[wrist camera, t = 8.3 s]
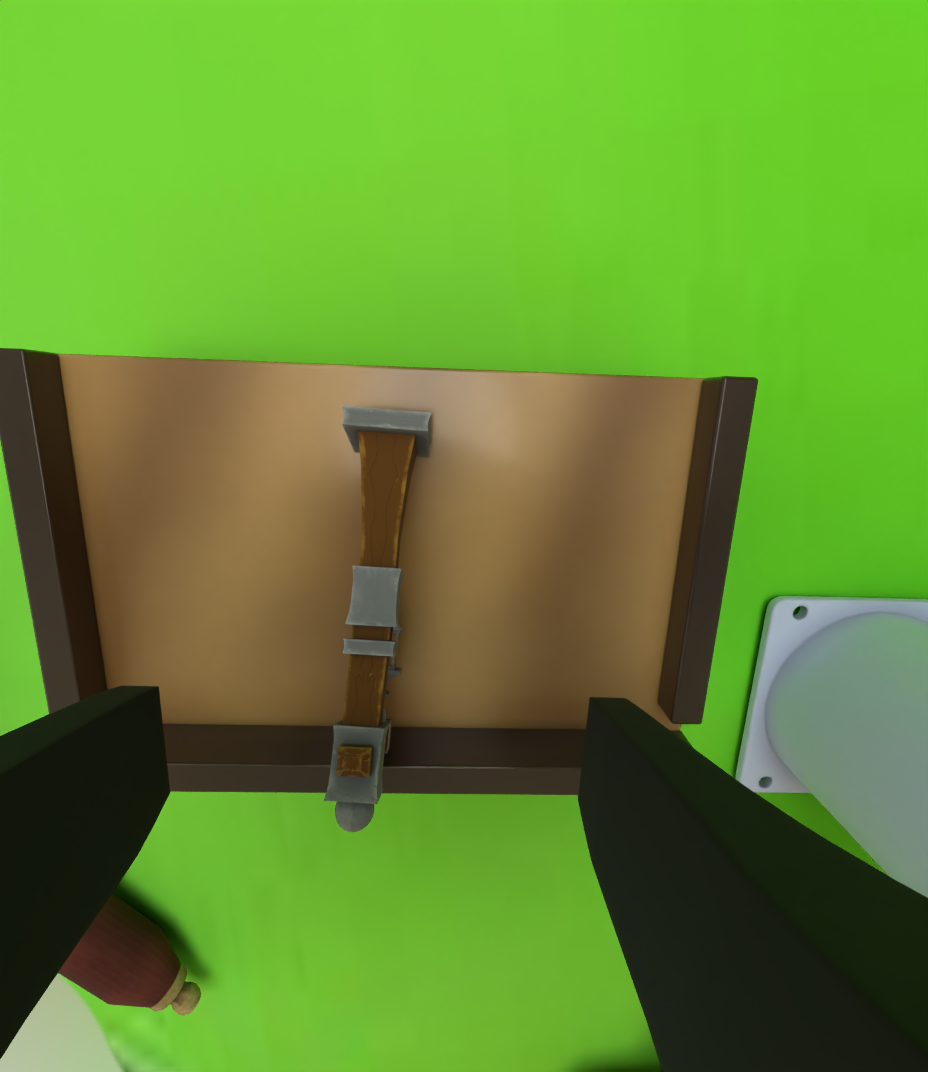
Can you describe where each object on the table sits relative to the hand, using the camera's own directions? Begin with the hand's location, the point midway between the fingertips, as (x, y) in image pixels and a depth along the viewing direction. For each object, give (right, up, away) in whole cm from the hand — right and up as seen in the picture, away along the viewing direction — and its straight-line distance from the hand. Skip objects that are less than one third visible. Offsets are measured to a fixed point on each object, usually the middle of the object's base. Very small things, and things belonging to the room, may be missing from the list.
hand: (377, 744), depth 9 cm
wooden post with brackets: (0, +3, +4) cm, 5 cm away
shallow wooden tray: (-1, +4, +9) cm, 10 cm away
